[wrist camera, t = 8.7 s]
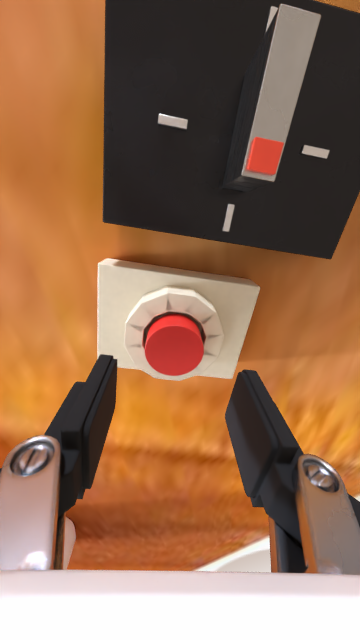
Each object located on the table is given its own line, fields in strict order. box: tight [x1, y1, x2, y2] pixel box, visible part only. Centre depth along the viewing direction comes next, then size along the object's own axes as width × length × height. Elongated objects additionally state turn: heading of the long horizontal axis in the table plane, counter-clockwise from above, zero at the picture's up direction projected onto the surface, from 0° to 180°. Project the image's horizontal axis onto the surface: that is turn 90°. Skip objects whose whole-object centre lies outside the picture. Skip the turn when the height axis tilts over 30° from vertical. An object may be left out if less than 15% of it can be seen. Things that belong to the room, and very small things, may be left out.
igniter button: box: [145, 314, 204, 376], centre depth 14 cm, size 4×4×2 cm
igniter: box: [98, 258, 260, 381], centre depth 16 cm, size 11×8×4 cm
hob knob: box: [222, 4, 321, 192], centre depth 9 cm, size 5×1×4 cm, turn 171°
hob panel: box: [103, 0, 360, 259], centre depth 12 cm, size 14×10×3 cm
